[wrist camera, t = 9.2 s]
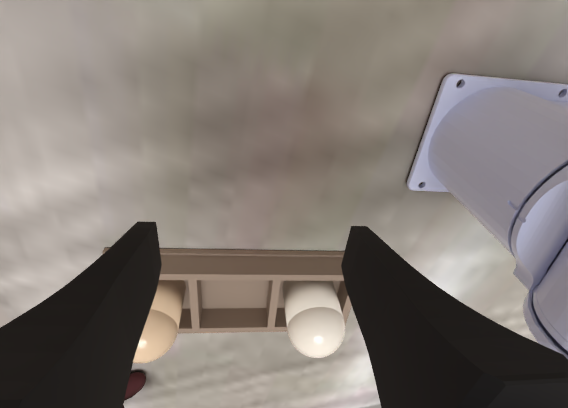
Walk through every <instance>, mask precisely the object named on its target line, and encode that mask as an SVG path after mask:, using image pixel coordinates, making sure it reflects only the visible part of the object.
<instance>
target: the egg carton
mask: <svg viewBox="0 0 568 408" xmlns="http://www.w3.org/2000/svg"><path fill="white" fill-rule="evenodd" d="M108 249H109V248H104V250H103V254H104V253H105V252H106V251H107V250H108ZM344 252H345V251H284V250H221V249H160V255H161V263H162V266H161V272H160V277H159V280H184V281H185V284H186V290H185V296H184V301H183V307H182V312H181V317H180V323H179V328H178V333H226V332H283V331H287V323H286V314H285V306H284V297H283V283H284V281H333V283H334V287H335V290H336V293H337V297H338V300H339V304H340V307H341V311H342V314H343V318H344V322H345V324H346V321H347V318H348V315H349V312H350V309H351V306H352V304H351V302H350V299H349V296H348V293H347V290H346V287H345V282H344V278H343V273H342V268H341V264H342V260H343V256H344Z"/></svg>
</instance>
